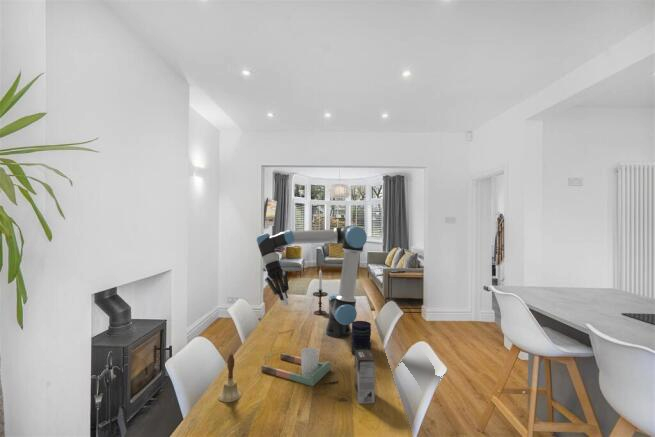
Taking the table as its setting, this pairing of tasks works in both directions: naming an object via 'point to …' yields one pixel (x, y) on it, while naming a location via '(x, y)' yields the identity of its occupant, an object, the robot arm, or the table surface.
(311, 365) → the white cup
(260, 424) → the table surface
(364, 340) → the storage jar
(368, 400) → the coffee box
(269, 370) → the lane walls
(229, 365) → the hand bell
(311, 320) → the table surface
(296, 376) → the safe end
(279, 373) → the walls
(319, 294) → the candlestick
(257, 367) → the table surface
